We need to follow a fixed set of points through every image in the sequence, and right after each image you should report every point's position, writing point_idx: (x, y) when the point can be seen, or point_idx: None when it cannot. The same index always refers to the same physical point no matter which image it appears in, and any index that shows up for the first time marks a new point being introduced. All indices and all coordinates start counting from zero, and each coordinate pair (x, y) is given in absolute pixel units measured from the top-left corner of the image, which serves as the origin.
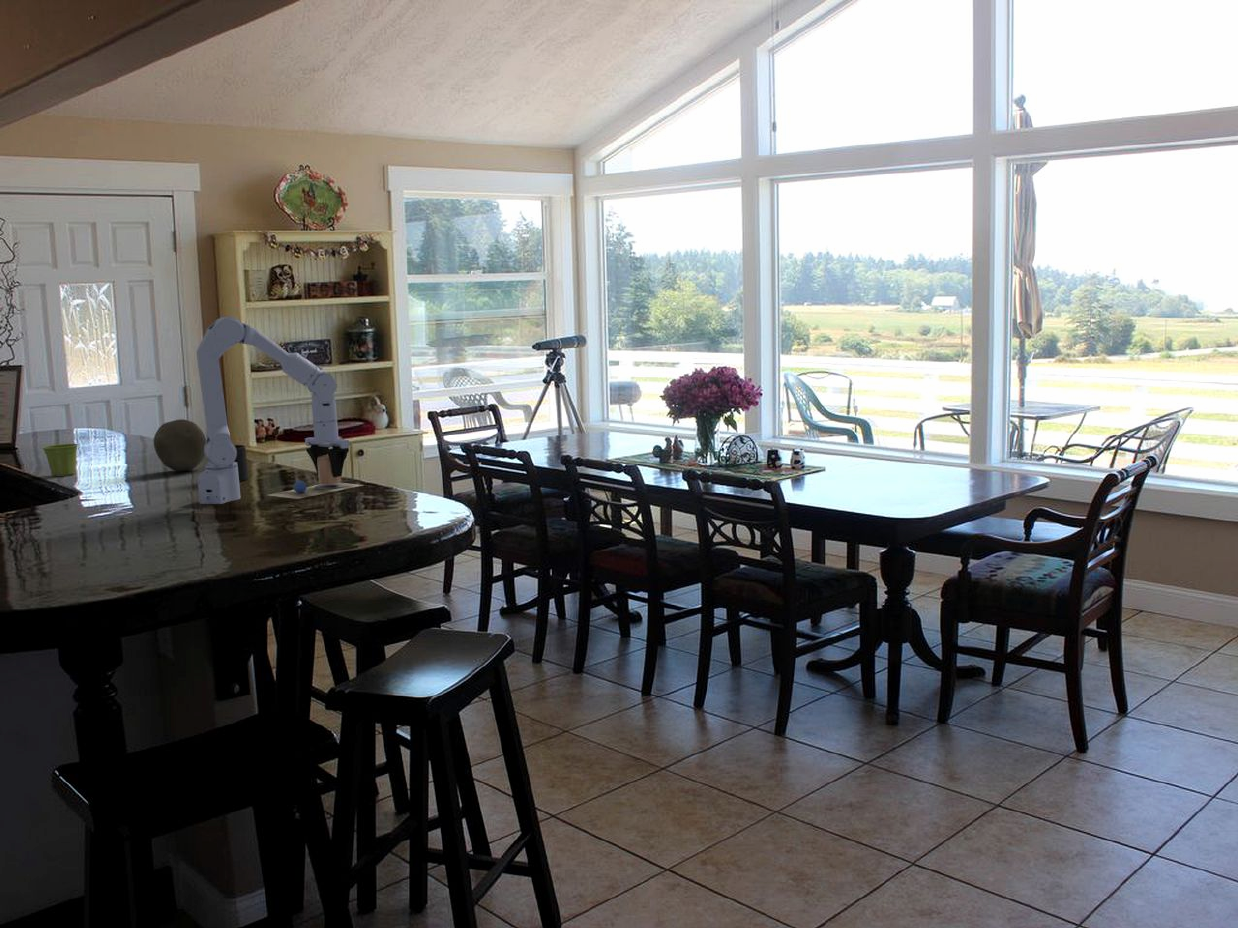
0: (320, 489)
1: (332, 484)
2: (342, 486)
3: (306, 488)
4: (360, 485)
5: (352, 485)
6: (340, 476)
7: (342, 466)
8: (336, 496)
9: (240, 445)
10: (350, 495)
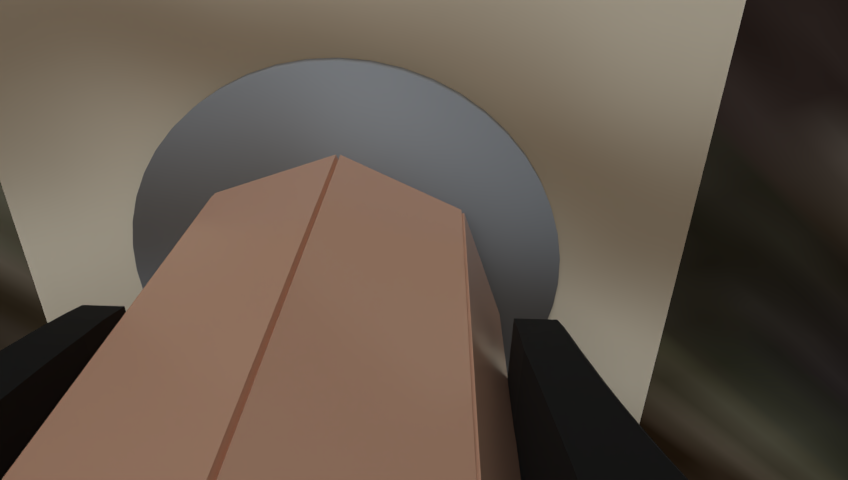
0: None
1: None
2: (560, 250)
3: None
4: (717, 2)
5: (570, 56)
6: (469, 264)
7: (641, 444)
8: (691, 417)
9: None
10: (824, 337)
